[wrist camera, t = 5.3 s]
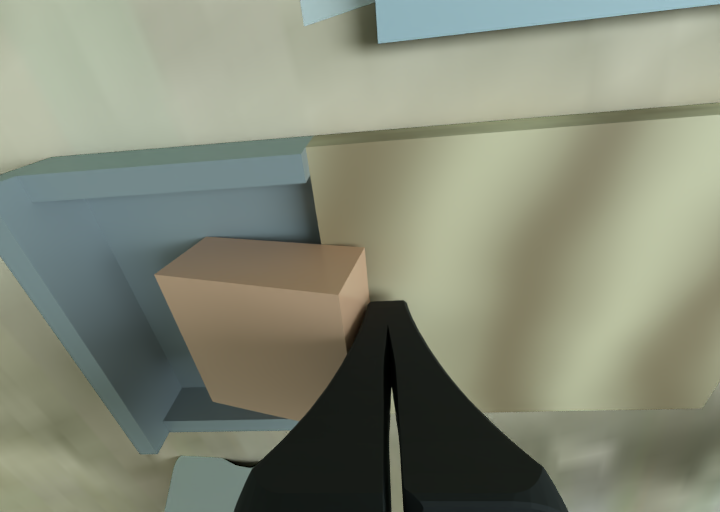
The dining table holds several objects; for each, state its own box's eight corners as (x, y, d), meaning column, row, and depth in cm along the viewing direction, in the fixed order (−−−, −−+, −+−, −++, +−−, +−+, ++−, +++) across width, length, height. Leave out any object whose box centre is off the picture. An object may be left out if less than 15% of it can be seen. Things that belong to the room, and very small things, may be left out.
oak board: (832, 93, 10) (899, 100, 9) (676, 379, 16) (702, 408, 15) (313, 135, 11) (305, 147, 10) (350, 387, 17) (349, 415, 16)
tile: (364, 247, 11) (338, 294, 9) (376, 377, 14) (358, 435, 12) (206, 236, 13) (153, 274, 11) (247, 354, 16) (212, 401, 14)
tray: (313, 135, 11) (293, 164, 8) (350, 387, 17) (346, 452, 15) (51, 157, 12) (-47, 190, 9) (175, 391, 18) (140, 454, 15)
